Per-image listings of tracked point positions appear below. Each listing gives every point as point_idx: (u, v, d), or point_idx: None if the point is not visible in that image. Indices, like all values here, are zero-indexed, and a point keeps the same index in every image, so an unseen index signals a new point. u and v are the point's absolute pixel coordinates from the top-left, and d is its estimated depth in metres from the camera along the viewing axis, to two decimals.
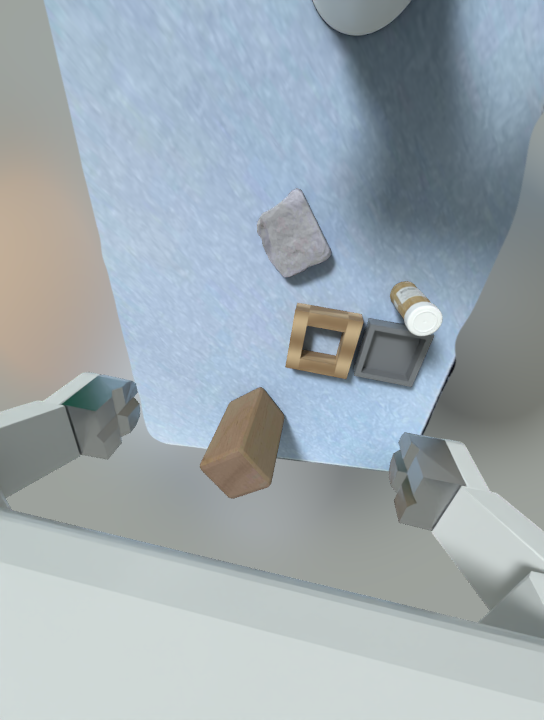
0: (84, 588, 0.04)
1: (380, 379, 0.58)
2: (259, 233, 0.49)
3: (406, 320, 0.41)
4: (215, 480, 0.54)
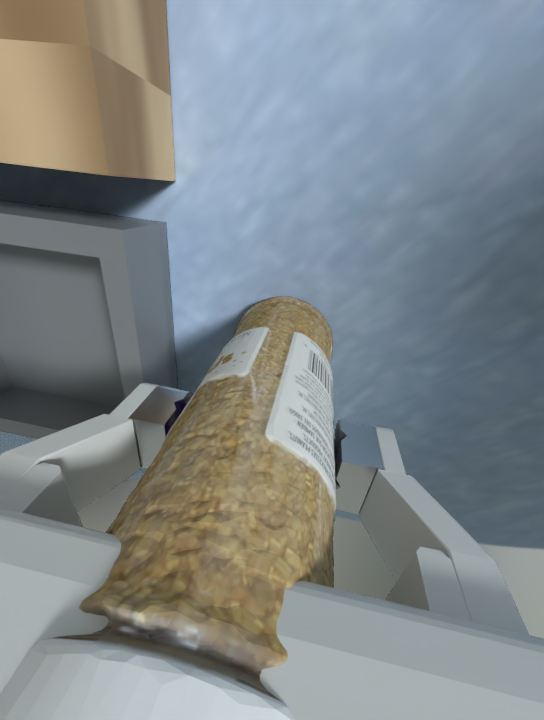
0: (84, 588, 0.04)
1: None
2: None
3: None
4: None
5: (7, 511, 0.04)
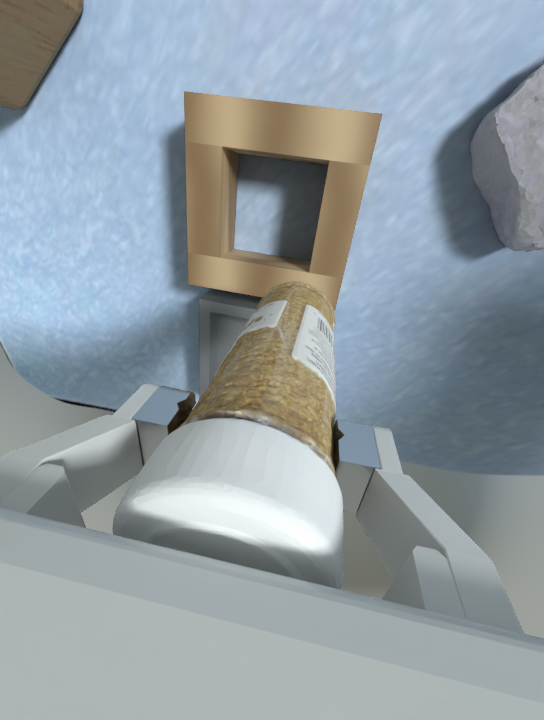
0: (84, 588, 0.04)
1: (202, 349, 0.28)
2: None
3: (208, 468, 0.05)
4: None
5: (7, 511, 0.04)
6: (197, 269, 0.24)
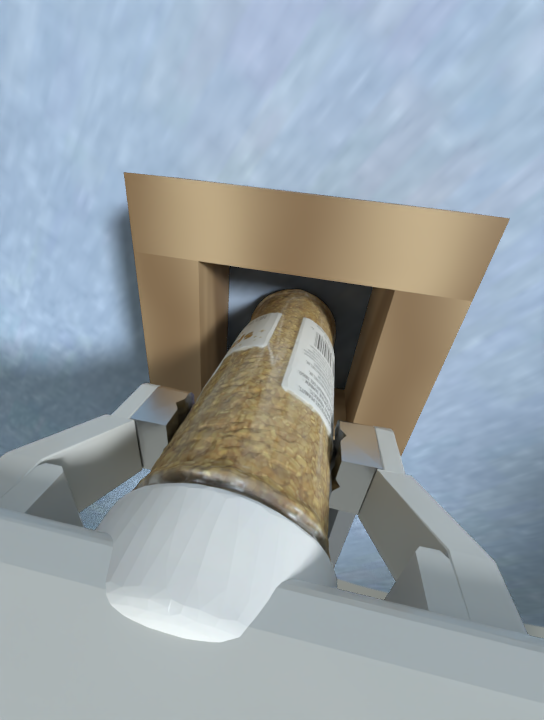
0: (84, 588, 0.04)
1: None
2: None
3: (153, 570, 0.04)
4: None
5: (7, 511, 0.04)
6: None
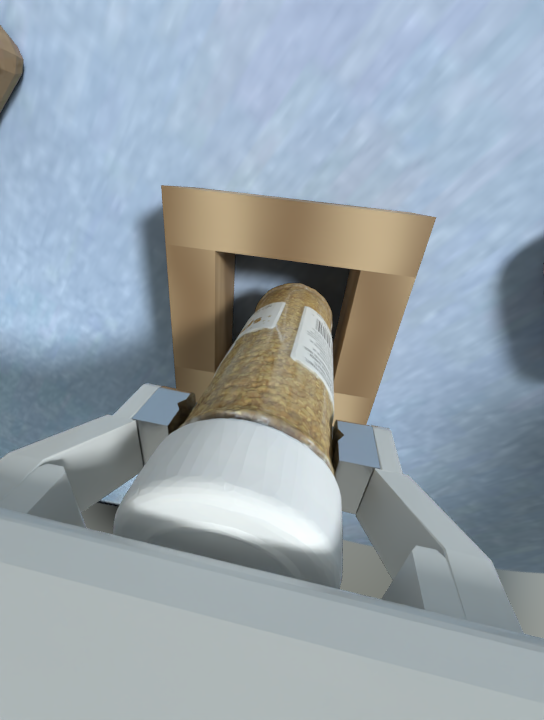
0: (84, 588, 0.04)
1: None
2: None
3: (209, 467, 0.05)
4: None
5: (7, 511, 0.04)
6: (187, 384, 0.19)
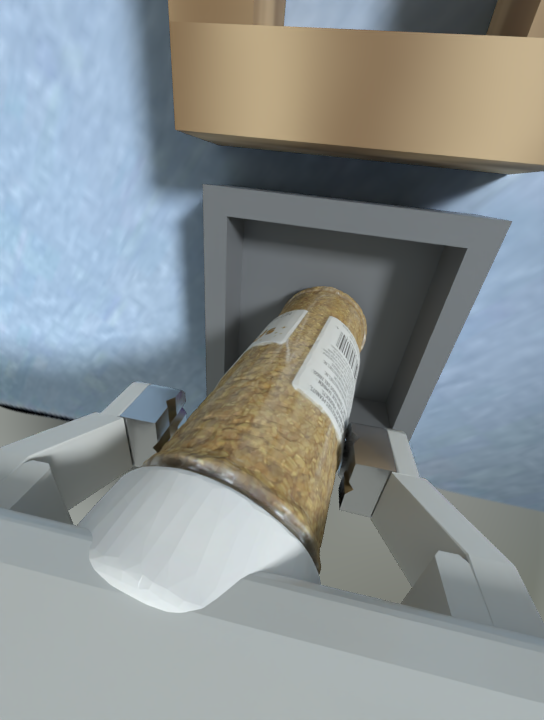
0: (84, 588, 0.04)
1: (211, 307, 0.14)
2: None
3: (133, 545, 0.04)
4: None
5: (7, 511, 0.04)
6: (196, 77, 0.09)
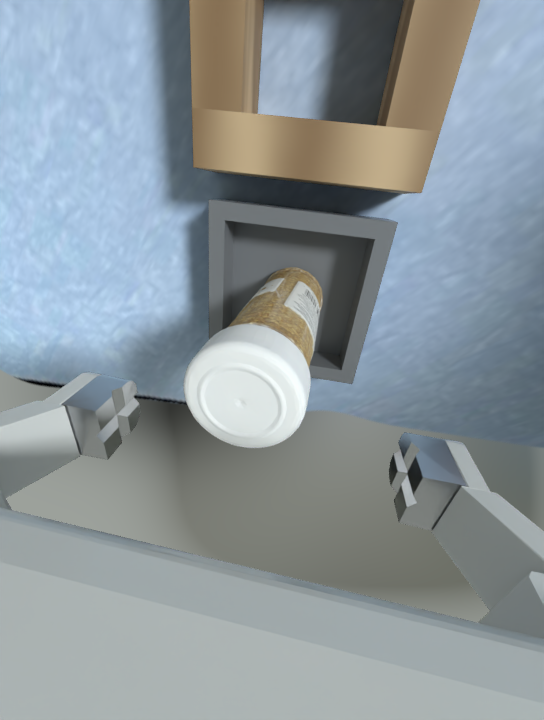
0: (84, 588, 0.04)
1: (213, 283, 0.20)
2: None
3: (236, 338, 0.10)
4: None
5: (7, 511, 0.04)
6: (207, 138, 0.15)
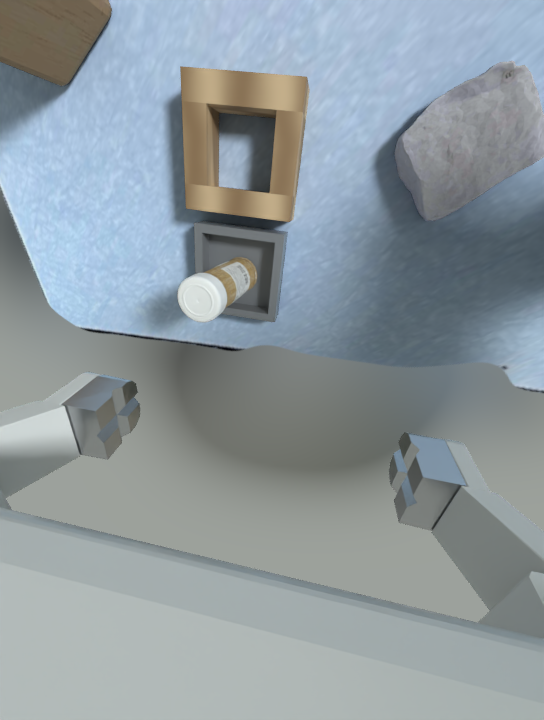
0: (84, 588, 0.04)
1: (197, 265, 0.38)
2: (494, 68, 0.26)
3: (193, 275, 0.28)
4: None
5: (7, 511, 0.04)
6: (192, 196, 0.33)
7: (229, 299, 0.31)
